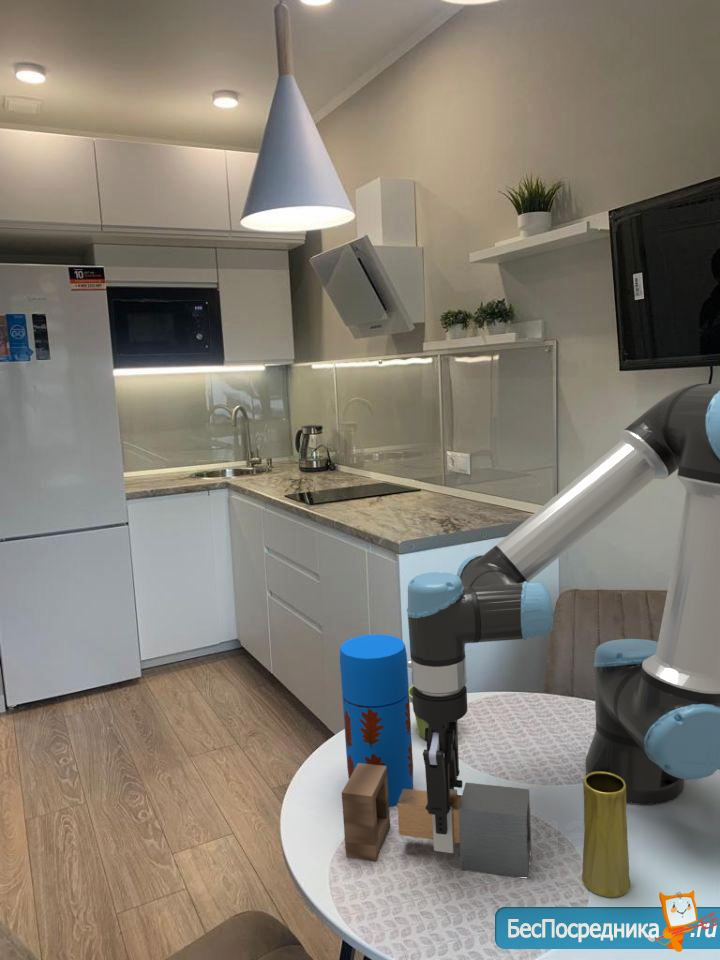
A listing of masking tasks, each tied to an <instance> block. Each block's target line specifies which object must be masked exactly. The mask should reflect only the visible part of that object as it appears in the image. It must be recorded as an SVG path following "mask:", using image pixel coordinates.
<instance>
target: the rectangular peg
mask: <svg viewBox="0 0 720 960" xmlns="http://www.w3.org/2000/svg"><path fill="white" fill-rule="evenodd" d="M461 797H462V794H457V795H455V794H450V807H452V817H453V837H454V844H455V843H457V844H460V832H459V811H458V808H459V804H460V801H461ZM427 803H428V801H427V790H426V791H425V790H419V789H413V790H411V789H403V791H402V793H401V795H400V798H399V800H398V802H397V805H396V806H397V820H398V822H397V823H398V835H399V836H403V837H411V838H416V839H417V838H419V839H426V840H433V821H432V814H429V813H428V810H426V805H427ZM527 837H528V828H527ZM433 841H434V840H433Z"/></svg>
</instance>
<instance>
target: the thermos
mask: <svg viewBox="0 0 720 960" xmlns="http://www.w3.org/2000/svg"><path fill="white" fill-rule="evenodd" d="M339 647H340V649H339V670H340V679H341V680H340V681H341V682H340V684H341V694H342V695H341V696H342V697H341V698H342V707H343V709H342V710H343V723H344V724H343V725H344V737H345V738H344V739H345V752H346V764H347V765H346V766H347V776H348V779H349V778H350V777H351V775H352V773H353V771H354V769H355V768H356V766H357V764H358V763H363V764H372V765H382V766H387V780H388V796H389V808H390V807H393V806H397V802H398V800H399V798H400V795H401V793H402V791H403V789H411V790H414V762H413V761H414V759H413V745H412V744H413V742H412V741H413V739H412V725H411V722H412V721H411V707H410V706H411V705H410V697H409V691H408V690H409V687H410V686H409V672H408V671H409V670H408V668H409V667H408V666H407V663H408V655H407V649H406V644H405V642H404V640H403V639H401V638H399V637H397V636H394V635H390V634H380V633H379V634H377V633H376V634H365V635H359V636H355V637H353V638H350V639H348V640H346V641H344V642H342V644H341V646H339Z"/></svg>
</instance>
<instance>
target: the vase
mask: <svg viewBox="0 0 720 960" xmlns="http://www.w3.org/2000/svg"><path fill="white" fill-rule="evenodd" d="M582 782H583V783H582V785H583V787H582V788H583V828H584V832H583V833H584V834H583V836H584V837H583V853H582V872H581V881H582V883H583V884H584V886H585V887H586V888H587V889H588V890H589V891H591V892H592V893H594V894H596V895H599V896H601V897H605V898H618V897H621V896H622V897H623V896H624V895H626V894H627V893H628V892H629V891H630V890H631V889H630V888H631V883H632V882H631V879H630V860H629V859H630V858H629V855H630V854H629V843H628V824H627V823H628V821H627V818H628V816H627V802H626V784H625V781H624V780H623V779H622V778H621V777H619V776H617V775H615V774H613V773H609V772H603V771H597V772H592V773H589V774H587V775H586V774H585V776H584V778H583V781H582Z"/></svg>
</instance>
